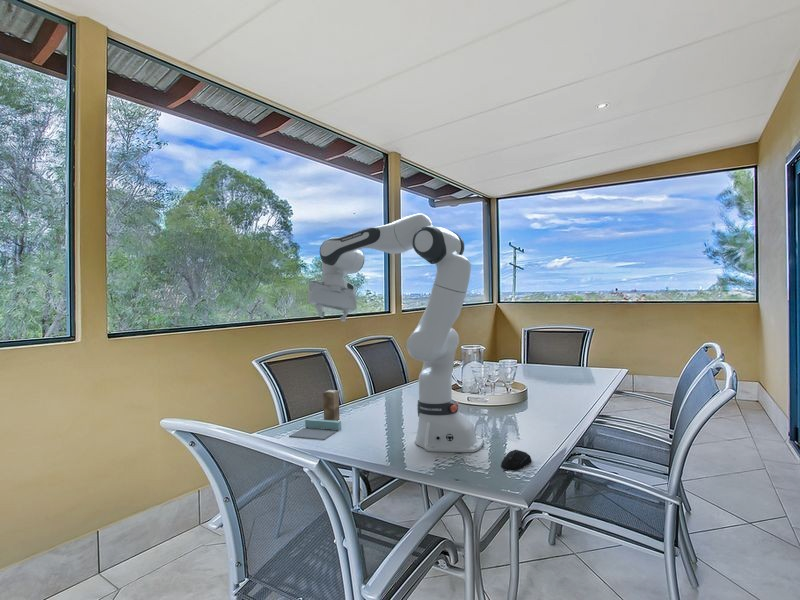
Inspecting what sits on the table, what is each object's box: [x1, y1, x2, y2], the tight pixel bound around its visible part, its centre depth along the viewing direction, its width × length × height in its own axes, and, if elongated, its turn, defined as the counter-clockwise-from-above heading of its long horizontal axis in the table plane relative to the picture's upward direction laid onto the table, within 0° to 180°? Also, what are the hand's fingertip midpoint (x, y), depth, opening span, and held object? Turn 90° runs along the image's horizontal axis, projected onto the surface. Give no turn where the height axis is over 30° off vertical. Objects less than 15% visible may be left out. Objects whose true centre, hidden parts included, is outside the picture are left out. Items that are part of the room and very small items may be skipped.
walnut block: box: [322, 389, 341, 421], centre depth 179 cm, size 4×4×12 cm
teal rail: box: [304, 418, 342, 431], centre depth 170 cm, size 14×2×3 cm, turn 71°
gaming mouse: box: [500, 449, 532, 473], centre depth 130 cm, size 6×15×4 cm, turn 139°
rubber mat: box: [288, 428, 337, 441], centre depth 163 cm, size 14×9×1 cm, turn 71°
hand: (332, 318), depth 170 cm, fingers open, 8 cm apart
